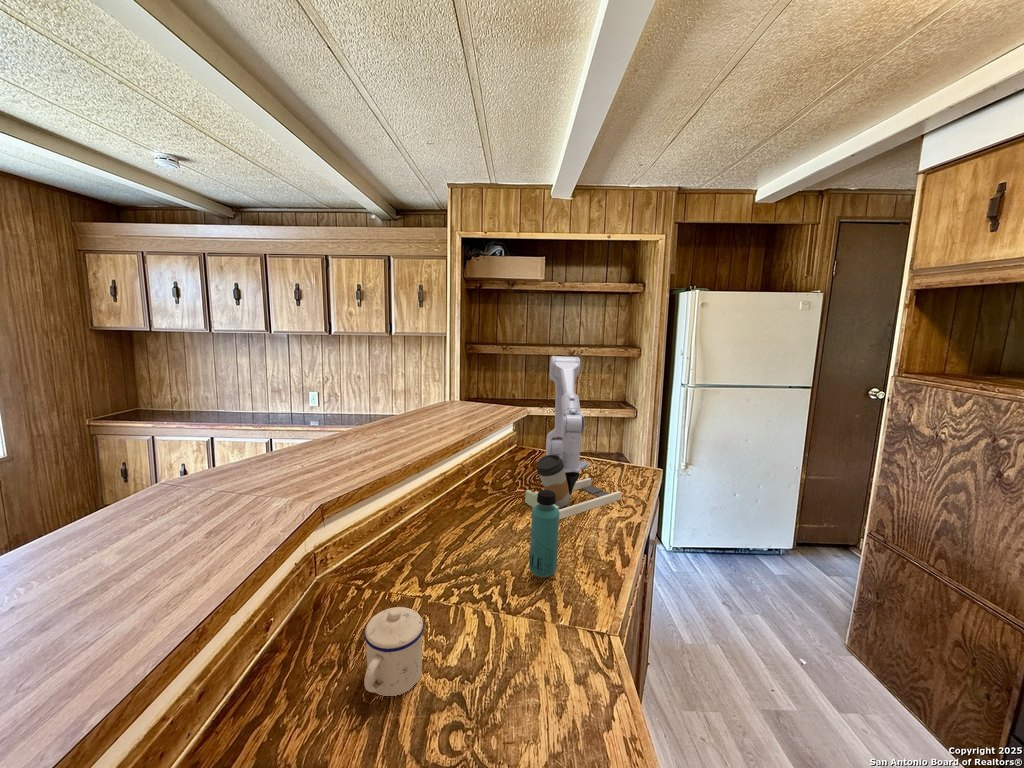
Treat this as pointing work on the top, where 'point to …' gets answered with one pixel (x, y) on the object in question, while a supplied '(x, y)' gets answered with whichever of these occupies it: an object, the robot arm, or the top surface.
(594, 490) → the trap pits
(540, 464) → the coffee cup
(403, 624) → the teacup with lid
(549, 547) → the beverage bottle
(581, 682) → the top surface
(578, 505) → the lane box
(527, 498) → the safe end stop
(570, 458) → the robot arm
